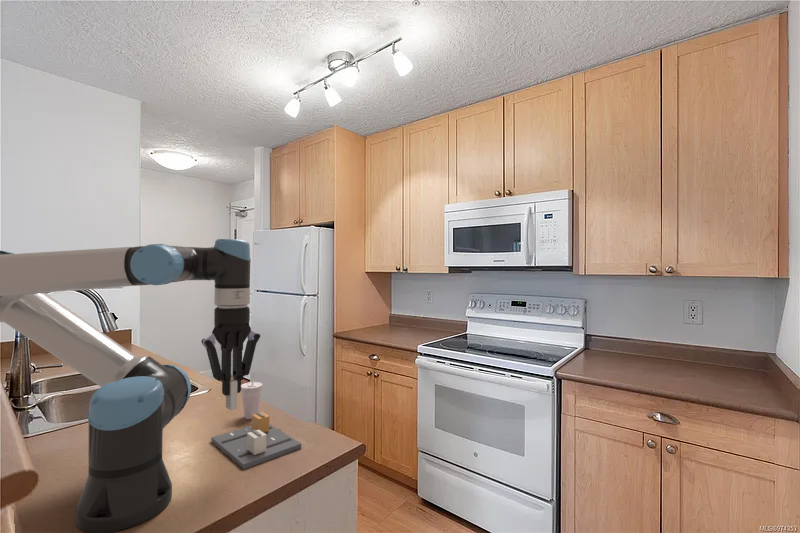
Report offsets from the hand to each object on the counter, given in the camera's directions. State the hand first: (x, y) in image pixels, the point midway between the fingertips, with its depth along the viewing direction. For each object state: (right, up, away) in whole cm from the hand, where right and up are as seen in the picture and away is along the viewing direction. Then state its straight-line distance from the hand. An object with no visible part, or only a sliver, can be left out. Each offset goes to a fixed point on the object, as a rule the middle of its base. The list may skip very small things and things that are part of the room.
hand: (231, 407), depth 92 cm
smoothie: (-6, -13, +29) cm, 32 cm away
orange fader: (+1, -12, +16) cm, 20 cm away
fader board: (+2, -13, +10) cm, 17 cm away
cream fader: (+4, -12, +5) cm, 14 cm away
